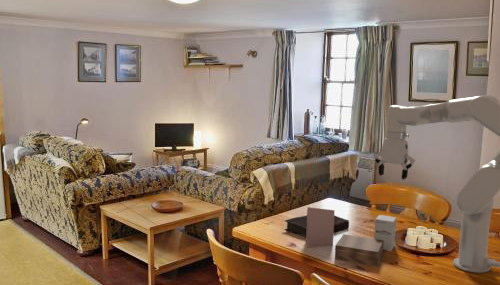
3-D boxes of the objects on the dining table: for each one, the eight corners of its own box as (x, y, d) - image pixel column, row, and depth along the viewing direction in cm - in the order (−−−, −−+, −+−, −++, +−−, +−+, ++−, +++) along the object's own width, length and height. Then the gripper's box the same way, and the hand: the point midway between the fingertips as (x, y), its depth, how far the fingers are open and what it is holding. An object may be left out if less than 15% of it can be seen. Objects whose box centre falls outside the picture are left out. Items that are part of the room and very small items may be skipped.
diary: (349, 230, 220) (349, 219, 220) (313, 242, 204) (314, 231, 203) (318, 219, 234) (318, 210, 233) (282, 230, 218) (283, 219, 217)
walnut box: (383, 254, 190) (383, 240, 189) (377, 267, 177) (378, 252, 176) (342, 248, 197) (343, 234, 196) (333, 259, 184) (334, 245, 183)
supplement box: (372, 248, 196) (374, 218, 194) (377, 242, 202) (378, 214, 201) (391, 251, 193) (393, 221, 191) (394, 246, 199) (396, 216, 197)
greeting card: (333, 244, 200) (334, 209, 197) (330, 250, 193) (331, 214, 191) (306, 240, 203) (307, 206, 201) (302, 246, 197) (303, 211, 194)
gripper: (420, 137, 191) (416, 179, 194) (379, 132, 202) (376, 172, 204) (413, 139, 185) (409, 182, 188) (371, 134, 196) (368, 174, 199)
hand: (392, 176), depth 196 cm, fingers open, 9 cm apart
